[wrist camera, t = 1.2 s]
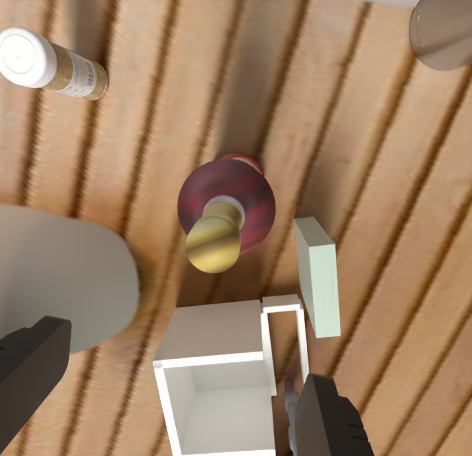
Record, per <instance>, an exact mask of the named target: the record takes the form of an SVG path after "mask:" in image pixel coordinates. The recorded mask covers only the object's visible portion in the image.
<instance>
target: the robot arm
mask: <svg viewBox="0 0 472 456" xmlns="http://www.w3.org/2000/svg"><path fill="white" fill-rule="evenodd" d="M409 34H410V42H411V45H412V48H413V50H414V52H415V54H416V55H417V57H418V58H419V59H420V60H421V61H422V62H423V63H424V64H426V65H428V66H429V67H431V68H435V69H438V70H451V69H457V68H460V67H463V66H466V65H469V64H472V0H420V1H419V2H418V4H417V6H416V8H415V10H414V12H413V14H412V18H411V21H410V30H409ZM70 339H71V321H70V320H66V319H61V318H57V317H52V316H45V317H43V318H42V319H41V320H39V321H38V322H37V323H36V324H35V325H34V326H33V327H31V328H25V327H24V328H21V329H19V330H17V331H15V332H12V333H10V334H8V335H6V336H5V337H4V338H2V339H1V340H0V454H1V453H2V452H3V451H4V449H5V448H6V447H7V446H8V444H9V443H10V442H11V441H12V439H13V438H14V437H15V436H16V434H17V433H18V432H19V431H20V429H21V428H22V427H23V426H24V424H25V423H26V422H27V421H28V420H29V418H30V417H31V416H32V415H33V413H34V412H35V411H36V410H37V408H38V407H39V406H40V405H41V403H42V402H43V401H44V400H45V398H46V397H47V396H48V395H49V393H50V392H51V391H52V390H53V388H54V387H55V386H56V385H57V384H58V382H59V381H60V380H61V378H62V377H63V375H64V373H65V371H66V368H67V365H68V361H69V351H70ZM363 427H364V426H363V424H362V421H361V418H360V415H359V413H358V411H357V410H356V408H355V407H354V406H353V405H352V403H351V402H350V401H349V399H348V398H346V397H342V396H339V395H338V392H337V389H336V386H335V383H334V380H333V378H332V377H327V376H322V375H318V374H313V373H309V374H308V375H307V378H306V381H305V384H304V387H303V390H302V394H301V397H300V400H299V403H298V406H297V410H296V414H295V424H294V428H295V438H296V446H297V453H298V456H374V453H373V451H372V448H371V445H370V442H368V437H367V434H366V432H365V430H364V429H363Z"/></svg>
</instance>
